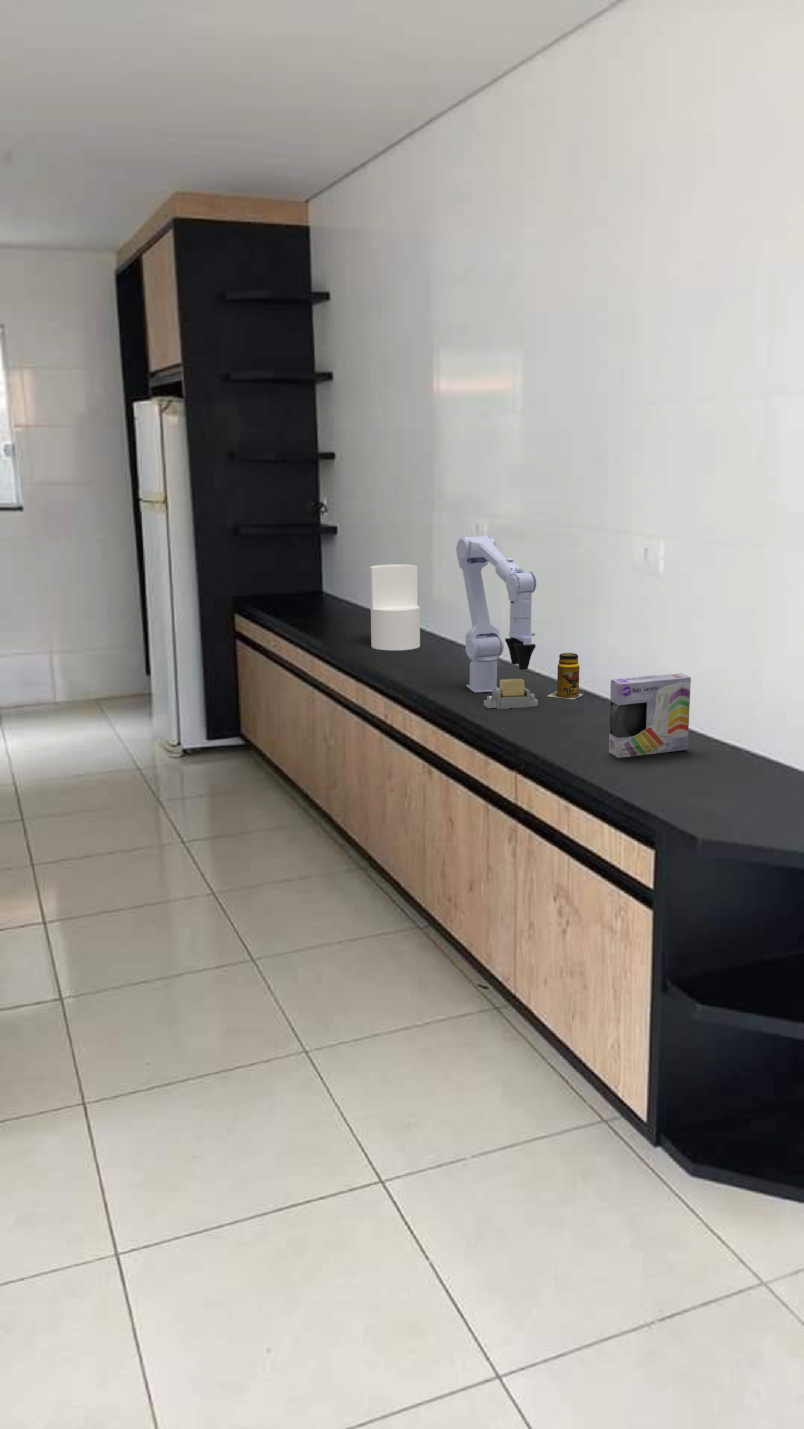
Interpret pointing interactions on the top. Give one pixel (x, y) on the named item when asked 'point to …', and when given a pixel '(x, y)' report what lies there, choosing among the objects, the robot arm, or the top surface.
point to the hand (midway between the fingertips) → (519, 666)
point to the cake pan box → (649, 714)
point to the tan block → (512, 688)
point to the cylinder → (394, 607)
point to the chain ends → (510, 700)
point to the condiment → (567, 677)
